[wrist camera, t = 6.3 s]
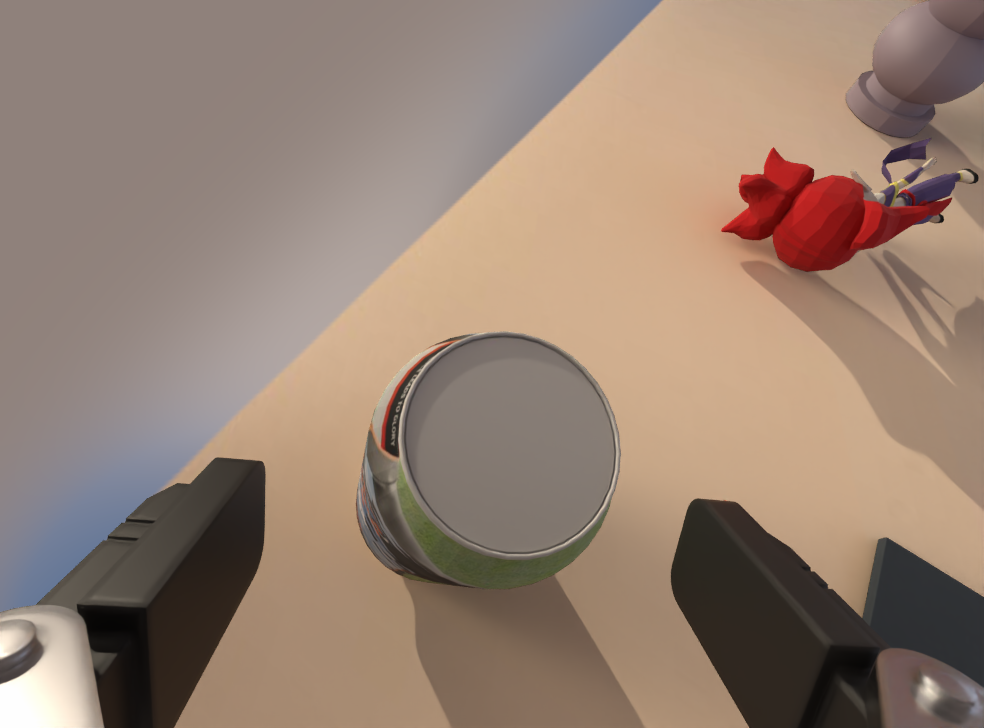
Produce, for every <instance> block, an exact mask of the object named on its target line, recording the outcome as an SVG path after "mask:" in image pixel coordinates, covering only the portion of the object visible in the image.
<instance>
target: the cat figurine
mask: <svg viewBox="0 0 984 728" xmlns="http://www.w3.org/2000/svg"><path fill="white" fill-rule="evenodd" d="M872 66H873V70H874V71H868V72H865V73H862V74H861V76H860V77H859V78H858V79H857V81H856V82H855V83H854V84H853V85H852V87H851V88H850V89H849V90H848V92H847V93H846V102H847V104H848V106H849V108H850V109H851V111H852V112H853V113H854V114H855V115H856V116H857V117H858V118H859V119H860V120H861V121H863V122H864V123H865V124H867V125H868V126H870V127H872V128H874V129H875V130H877V131H880V132H882V133H885V134H887V135H891V136H896V137H911V136H914V135H916V134H918V133H919V132H920V131H921V130H922V129H923V128H924V127H925V126H926V125H927V124H928V123H929V122H930V121H931V120H932V118H933V117H934V115H935V107H934V104H942V103H946V102H950V101H952V100H955V99H957V98H959V97H962V96H964V95H966V94H968V93H970V92H971V91H973V90H975V89H976V88H977V87H978V86H980V85H981V84H982V83H983V82H984V0H929V1H925V2H922V3H918V4H916V5H913V6H911V7H909V8H907V9H905V10H904V11H902V12H900V13H899V14H898V15H897V16H896V17H894V18H893V19H892V20H891V21H890V23H889V24H888V25H887V26H886V27H885V28H884V29H883V30H882V32H881V33H880V35H879V36H878V38H877V40H876V43H875V46H874V50H873V62H872Z"/></svg>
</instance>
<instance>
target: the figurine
mask: <svg viewBox="0 0 984 728" xmlns="http://www.w3.org/2000/svg"><path fill="white" fill-rule="evenodd" d="M930 140H931V138H929V139H926V140H922V141H919V142H915V143H912V144H909V145H906V146H903V147H900V148H897V149H894V150H891V151H890V153H889V154H888V155H887V157H886V158H885V159H884V160H883V166H882V174H883V175H884V177H885V178H886V179H887V181H888V182H889V186H888V187H887V188H885V189H884V190H882V191H881V192H879V193H876V194H873V193H872V192H871V190H872V189H871V188H870V187H869V186H868V185H867V184H866V183H865V182H864V181H863V180H862V179H861V178H860V176H859V175H858V174H857V172H856V171H855V170H851V171H850V172H851V175H852V177H853V179H850V178H847V177H844V176H835V175H831V176H828V177H824V178H821V179H818V180H815V181H813V182H812V180H813V177H814V169H812V168H811V167H809V166H808V165H805V164H798V163H792V162H788V161H785V160H784V159H783V158H782V157H781V156H780V155H779V154H778V152H777V151H776V150H775V148H774V147H773V148H772V149H771V151H770V153H769V155H768V157H767V160H766V162H765V165H764V174H763V175H761V174H755V175H741V180H740V183H739V193H740V195H741V197H742V199H743V200H744V201H745V202H747V203H749V208H747V209H746V210H745V211H744V212H742V213H741V214H740V215H739V216H737V217H736V218H735V219H734V220H732V221H731V222H730V223H729V224H727V225H726V226H725V227H724V228H722V230H721V231H722V232H729V233H735V234H736V235H738V236H740V237H741V238H743V239H748V240H762V239H764V238H767V237H769V236H771V235H772V234H773V243H774V246H775V250H776V253H777V256H778V258H779V259H781V260H782V261H783V262H785V263H786V264H787V265H789V266H790V267H792V268H796V269H799V270H803V271H807V272H808V271H819V270H832V269H834V268H835V267H837V266H839V265H841V264H843V263H845V262H847V261H849V260H850V259H851V258H852V257H853V256H854V254H855V253H857V252H859V251H860V250H864V249H869V248H874V247H877V246H879V245H881V244H883V243H885V242H887V241H889V240H890V239H892V238H893V237H895V236H896V235H898V234H899V233H901V232H902V231H904V230H905V229H907V228H909V227H910V226H912V225H916V224H923V223H926V222H928V221H930V222H932V223H942V222H943V221H944V218H943V216H942V215H941V214H940V213H941V212H942V211H943V210H944V209H945V208H946V207H947V206H948V205H949V204H950V202H951V200H952V198H949V199H946V200H943V201H937V200H940V199H942V198H945V197H947V196H950V194H951V192H952V190H953V189H954V187H955V182H957V181H959V182H963V183H968V184H972V183H976V182H977V181H978V178H979V177H978V175H977V174H976V173H975V172H973V171H972V170H970V169H962V170H960V171H958V172H956V173H952V174H944V175H941V176H938V177H935V178H932V179H929V180H927V181H924V182H922V183H919V184H917V185H914V186H912V187H910V188H909V189H907V190H906V189H905V190H902V191H901V192H900V193H899V194H898V191H899V190H900V189H901V188H903V187H905V186H907V185H909V184H910V183H912V182H913V181H914V180H915V179H916V178H917V177H918V176H919V175H920V174H921V173H922V172H923V171H924V170H926V169H928V168H930V167H931V166H932V165H934V164H935V163H936V162H937V161H935V160H937V159H935V158H936V157H934V158H931V159H929V160H928V161H927V162H926V163H925V164H924V165H923V166H922V167H920V168H918V169H917V170H915V171H914V172H912V173H910V174H909V175H907V176H906V177H904V178H903V179H901V180H900V181H898V182H894V183H892V181H891V175H890V173H889V171H888V170H887V168H886V164H888V163H892V162H897V161H902V160H906V159H926V145H927V144H928V142H929V141H930ZM934 159H935V160H934ZM934 161H935V162H934ZM897 194H898V195H897ZM935 201H937V202H935Z"/></svg>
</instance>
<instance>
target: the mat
mask: <svg viewBox="0 0 984 728" xmlns="http://www.w3.org/2000/svg"><path fill="white" fill-rule="evenodd" d="M862 619H863V620H864V621H865V622H866V623H867V624H868V625H869V626H870V627H871V628H872V629H873V630H874V631H875V632H876V633H877V634H878V635H879V636H880V637H881V638H882V639H883V640H884V641H885V642H886V643H887V644H888V645H889V646H890V647H891V648H901V649H907V650H912V651H916V652H919V653H922V654H925V655H927V656H930V657H933V658H935V659H937V660H939V661H941V662H943V663H945V664H947V665H949V666H951V667H953V668H955V669H956V670H958V671H960V672H961V673H963V674H964V675H966V676H968V677H969V678H970V679H972V680H973V681H975V682H976V683H977V684H979V685H980V686H981V687H983V688H984V597H983V596H981V595H979V594H978V593H976V592H975V591H973V590H971V589H970V588H968V587H966V586H965V585H963V584H962V583H960V582H958V581H957V580H955V579H953V578H952V577H950V576H949V575H947V574H945V573H944V572H942V571H941V570H939V569H937V568H936V567H934V566H932V565H931V564H929V563H928V562H926V561H924V560H923V559H921V558H919V557H918V556H916V555H915V554H913V553H911V552H910V551H908V550H906V549H905V548H903V547H902V546H900V545H898V544H897V543H895V542H893V541H892V540H890V539H889V538H881V539H879V540H878V544H877V549H876V554H875V559H874V564H873V569H872V574H871V579H870V584H869V589H868V593H867V598H866V603H865V608H864V613H863V618H862Z"/></svg>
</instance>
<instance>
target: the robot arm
mask: <svg viewBox="0 0 984 728" xmlns="http://www.w3.org/2000/svg"><path fill="white" fill-rule="evenodd" d="M264 528H265V466H264V463H263V462H262V461H255V460H243V459H231V458H215V459H214V460H213V461H212V462H211V463H210V464H209V465H208V466H207V467H206V468H205V469H204V470H203V471H202V472H201V473H200V474H199V475H198V476H197V477H196V478H195V479H194V481H193V482H192V483H191V484H181V483H177V484H175V485H173V486H171V487H169V488H167V489H165V490H163V491H161V492H159V493H157V494H155V495H153V496H151V497H149V498H147V499H146V500H145V501H144V502H143V503H142V504H141V505H140V506H139V507H138V508H137V509H136V510H135V511H134V512H133V513H132V514H130V515H129V516H128V517H127V518H126V522H125V523H121V524H120V525H119V526H118V527H117V528H116V529H115V530H114V531H113V532H112V533H111V534H109V535H108V539H107V541H102V542H101V543H100V544H99V545H98V546H97V547H96V548H95V549H94V550H93V551H92V552H91V553H90V554H88V555H87V556H86V557H85V558H84V559H83V560H82V561H81V562H80V563H79V564H78V565H77V566H76V567H75V568H74V569H73V570H72V571H71V572H70V573H69V574H67V575H66V576H65V577H64V578H63V579H62V580H61V581H60V582H59V583H58V584H57V585H56V586H55V587H54V588H53V589H52V590H51V591H50V592H49V593H48V594H47V595H45V596H44V598H42V599H41V600H40V601H39V602H38V603H37V604H36V605H34V606H26V607H20V608H14V609H10V610H7V611H3V612H0V728H174V726H175V725H176V723H177V721H178V719H179V717H180V715H181V713H182V711H183V710H184V708H185V706H186V704H187V702H188V700H189V698H190V696H191V695H192V693H193V691H194V689H195V687H196V685H197V683H198V681H199V680H200V678H201V676H202V674H203V672H204V670H205V668H206V666H207V664H208V663H209V661H210V659H211V657H212V655H213V653H214V651H215V649H216V648H217V646H218V644H219V642H220V640H221V638H222V636H223V634H224V633H225V631H226V629H227V627H228V625H229V623H230V621H231V619H232V618H233V616H234V614H235V612H236V610H237V608H238V606H239V604H240V603H241V601H242V599H243V597H244V595H245V593H246V591H247V589H248V587H249V586H250V584H251V582H252V580H253V578H254V576H255V574H256V572H257V569H258V566H259V563H260V560H261V556H262V551H263V545H264ZM671 585H672V591H673V594H674V597H675V600H676V602H677V604H678V605H679V607H680V609H681V611H682V612H683V614H684V616H685V618H686V619H687V621H688V623H689V624H690V626H691V628H692V630H693V631H694V633H695V635H696V637H697V638H698V640H699V642H700V643H701V645H702V647H703V649H704V650H705V652H706V654H707V655H708V657H709V659H710V661H711V662H712V664H713V666H714V668H715V669H716V671H717V673H718V674H719V676H720V678H721V680H722V681H723V683H724V685H725V686H726V688H727V690H728V692H729V693H730V695H731V697H732V699H733V700H734V702H735V704H736V705H737V707H738V709H739V711H740V712H741V714H742V716H743V717H744V719H745V721H746V723H747V724H748V726H749V728H984V688H983V687H981V686H980V685H979V684H977V683H976V682H975V681H973V680H972V679H970V678H969V677H968V676H966V675H964V674H963V673H961V672H960V671H958V670H956V669H955V668H953V667H951V666H949V665H947V664H945V663H943V662H941V661H939V660H937V659H935V658H933V657H930V656H927V655H925V654H922V653H919V652H916V651H912V650H907V649H901V648H891V647H890V646H889V645H888V644H887V643H886V642H885V641H884V640H883V639H882V638H881V637H880V636H879V635H878V634H877V633H876V632H875V631H874V630H873V629H872V628H871V627H870V626H869V625H868V624H867V623H866V622H865V621H864V620H863V619H862V618H861V617H860V616H859V615H858V614H857V613H856V612H855V611H854V610H853V609H852V608H851V607H850V606H849V605H848V604H847V603H846V602H845V601H844V600H843V599H842V598H841V597H840V596H839V595H838V594H837V593H836V592H835V591H834V590H833V589H828V584H827V583H826V582H825V581H824V580H823V579H822V578H821V577H820V576H819V575H817V574H816V573H815V572H812V571H811V570H810V567H809V566H808V565H807V564H806V563H805V562H804V561H803V560H802V559H801V558H800V557H799V556H798V555H797V554H796V553H795V552H794V551H793V550H792V549H791V548H790V547H789V546H787V545H786V544H784V543H782V542H781V541H779V540H778V539H776V538H775V537H773V536H772V535H770V534H769V533H767V532H766V531H765V530H764V529H763V528H762V527H761V526H760V525H759V524H758V523H757V522H756V521H755V520H754V519H753V518H752V517H751V516H750V515H749V514H748V513H747V512H746V511H745V510H744V509H743V508H742V507H741V506H740V505H739V504H738V503H736V502H732V501H720V500H708V499H695V500H693V501H692V502H691V503H690V505H689V507H688V509H687V513H686V516H685V520H684V524H683V527H682V531H681V535H680V538H679V542H678V546H677V549H676V553H675V557H674V560H673V564H672V569H671Z"/></svg>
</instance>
